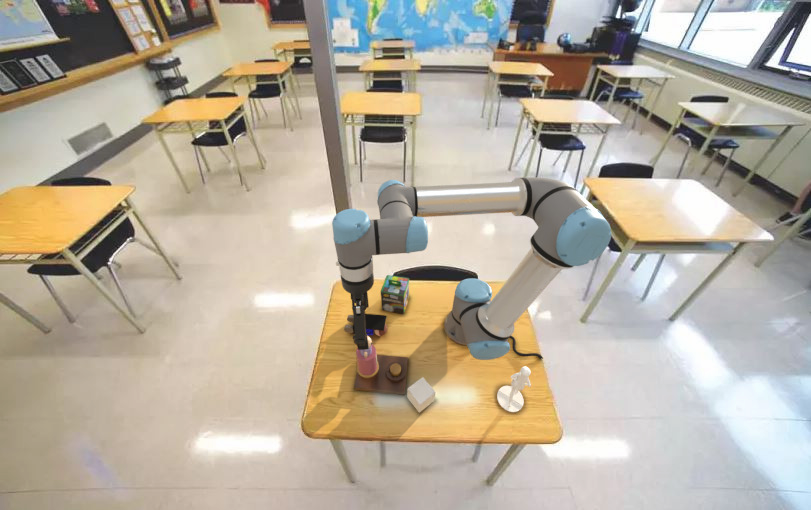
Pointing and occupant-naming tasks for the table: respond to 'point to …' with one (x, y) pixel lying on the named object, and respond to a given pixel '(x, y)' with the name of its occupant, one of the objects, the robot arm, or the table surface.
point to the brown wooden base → (385, 377)
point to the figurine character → (370, 324)
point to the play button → (395, 369)
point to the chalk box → (395, 294)
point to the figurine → (514, 391)
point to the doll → (367, 360)
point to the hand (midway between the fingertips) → (363, 326)
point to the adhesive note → (421, 394)
